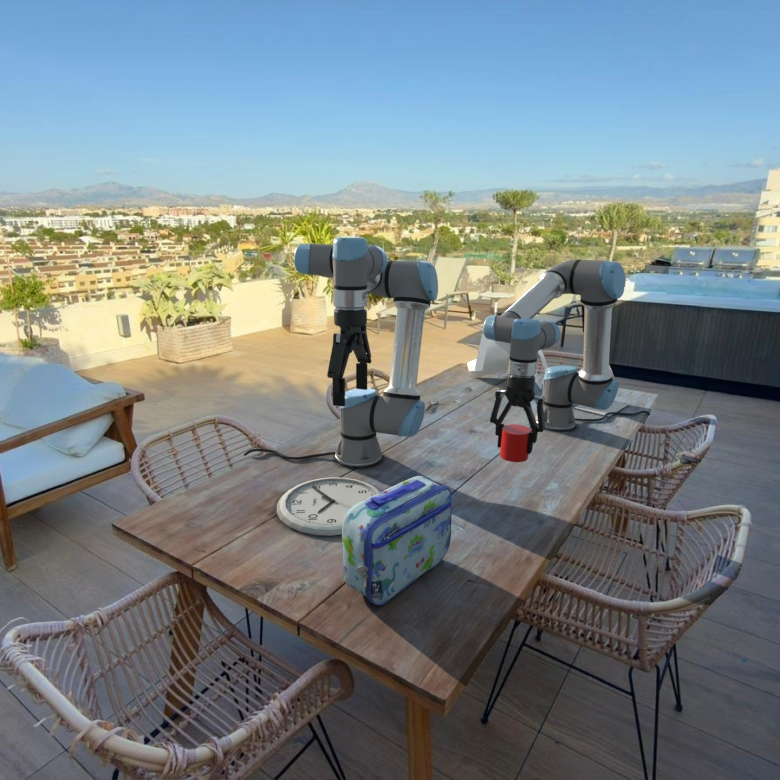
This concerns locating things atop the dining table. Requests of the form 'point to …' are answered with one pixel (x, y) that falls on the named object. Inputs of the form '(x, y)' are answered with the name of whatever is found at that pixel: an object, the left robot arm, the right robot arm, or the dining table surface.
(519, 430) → the canister
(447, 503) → the lunch box
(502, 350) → the white plastic object
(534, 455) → the dining table surface
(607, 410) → the invitation card
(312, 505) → the wall clock
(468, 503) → the dining table surface
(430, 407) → the fork
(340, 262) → the left robot arm
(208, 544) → the dining table surface
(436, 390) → the dining table surface
